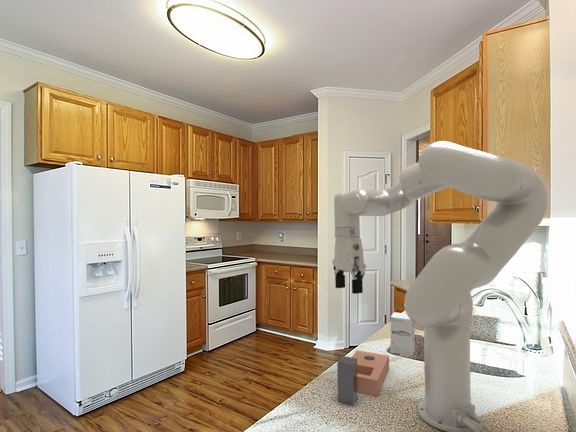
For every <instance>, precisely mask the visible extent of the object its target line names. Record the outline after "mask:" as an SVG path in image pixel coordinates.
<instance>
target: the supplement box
mask: <svg viewBox="0 0 576 432" xmlns="http://www.w3.org/2000/svg"><path fill="white" fill-rule="evenodd" d="M415 325H416V324H415V323H414V322H413V321H411V319H410V318H409V317H408V315H407V313H406V312H405V313H403V312H396V311H393V313H392V314H391V315H390V353H391V354H398V355H402V356H407V357H411V358H412V357H413V355H414V353H415V350H416V347H415V346H416V345H415V343H416V340H415V339H416V337H415V336H416V335H415V334H416V333H415V331H416V329H415V328H416V326H415Z"/></svg>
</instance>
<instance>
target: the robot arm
mask: <svg viewBox="0 0 576 432" xmlns="http://www.w3.org/2000/svg"><path fill="white" fill-rule="evenodd" d="M398 180H399V181H398V183H396V184H394V185H393V186H390V187H388V188H385V189H383V190H374V189H363V188H360V189H355V190H352V191H350V192H340V193H336V194H335V195H334V197H333V199H334V200H333V201H334V202H333V203H334V204H333V206H334V207H333V208H334V239H335V242H334V259H332V265H333V270H334V273H333V274H334V276H335V277H334V278H335V279H334V280H335V283H334V284H335V285H334V286H335V288H336V289H343V288H346V275H345V273H346V272H347V273H350V274H351V276H352V279H351V293H352V294H354V295H357V294H362V293H363V292H364V289H363V288H364V287H363V280H364V275H365V272H366V268H367V265H366V264H365V259H364V249H363V244H362V243H363V242H362V239H361V227H360V226H361V225H360V224H361V223H360V216H362V217H366V216H367V217H383V216H384V217H385V216H388V215H390V214H393V213H396V212H398V211H401V210H403V209H406V208H408V207H409V206H411V205H413V204H414V203H415V202H416V201H417V200H419V199H422V198H424V197H427V196H429V195H432V194H434V193H437V192H440V191H443V190H445V189H447V188H450V189H454V190H456V191H458V192H461V193H463V194H466V195H469V196H471V197H474V198H477V199H479V200H482V201H487V202H495V203H496V205H495V207H494V208H493V210H492V211H491V212H490V213H488V215H486V216H485V217H484V218H483V220H482V221H480V222H479V224H478V225H477V227H476V228H475V230H474V231H473V232H472V233H470V235H469V236H468V238H467V239H466V240H464V241H463V242H461V243H460V242H459V243H458V242H457V243H452V244H449V245H446V246H444V247H442V248H441V249H439V250H438V251H437V252H435V254H434V255H433V256H432V257H431V258H430V259H429V261H428V262H427V263H426V265H425V266H424V267H423V269H422V270H421V271H420V273H419V274H418V275H417V276H416V278H415V279H414V281H412V282H411V284H410V286H409V287H408V289H407V291H406V292H405V295H404V301H403V303H404V310H405V314H407V315H408V317H409V318H410V319H411V321H413V322H414V323H415V325H417V326H419V327H422V328H424V333H423V335H424V336H423V340H424V341H423V344H424V345H423V346H424V347H423V354H424V356H423V360H424V364H423V366H424V399H422V400H421V401H420V402H419V403H418V404H417V412H418V414H419V416H420V418H421V419H422V420H423V421H424V422H425V423H427V424H428V425H430V426H432V427H434V428H436V429H439V430H441V431H444V432H482V428H483V427H484V426H485V420H484V419H482V418H481V417H479V416H478V414H477V413H476V406H475V404H473V403H471V402H472V401H471V400H472V398H471V397H472V396H471V395H472V393H471V391H472V390H471V389H472V388H471V327H472V317H473V310H474V302H473V296H472V294H471V292H472V291H473V290H474V289H478V288H481V287H484V286H486V285H488V284H490V283H491V282H493V281H494V279H495V278H496V277H498V275H499V274H500V272H501V271H502V270H503V269H504V267H505V266H507V264H508V263H510V261H511V260H512V258H513V257H514V256H515V255H516V254H517V253H518V251H519V250H520V248H521V247H522V246H523V245H524V244H525V243H527V241H528V239H529V238H530V237H531V236H532V235H533V233H534V232H535V231H536V230H537V229H538V227H539V226H540V224H541V223H542V221H543V219H544V218H545V215H546V212H547V209H548V200H549V198H548V191H547V188H546V186H545V184H544V182H543V180H542V179H541V178H540V176H539V174H538V173H536V172H535V171H534V170H533V169H532V168H531V167H529V166H528V165H526V164H524V163H522V162H519V161H515V160H514V159H513V160H512V159H510V158H507V157H504V156H500V155H497V154H493V153H489V152H485V151H481V150H479V149H474V148H471V147H467V146H465V145H464V146H463V145H461V144H459V143H455V142H452V141H448V140H438V141H434V142H433V143H430V144H428V145H427V146H426V147H425V148H424V149H423V150H422V151H421V153H420V155H419V157H418V161H417V162H416V163H415V162H414V164H411V165H409V166H406V167H404V168H403V169H402V170H400V172H399V175H398Z"/></svg>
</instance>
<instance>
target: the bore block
mask: <svg viewBox="0 0 576 432" xmlns="http://www.w3.org/2000/svg"><path fill="white" fill-rule="evenodd" d="M351 357H352V358H357V390H358V393H361V394H366V395H371V396H375V397H379V394H380V391H381V389H382V387H383V384H384V381H385V379H386V377H387V375H388V372H389V370H390V356H389V355H387V354H383V353H382V354H380V353H375V352H369V351H363V350H356V351H354V353H353V354H352V356H351Z"/></svg>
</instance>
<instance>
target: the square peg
mask: <svg viewBox="0 0 576 432" xmlns="http://www.w3.org/2000/svg"><path fill="white" fill-rule="evenodd" d="M336 363H337V364H336V365H337V371H336V372H337V376H336V377H337V403H340V404H344V405H348V406H351V407H352V406H355V403H356V402H357V400H358V398H359V397H358V394H359V392H358V390H357V358H352V356H346V355H345V356H344V355H342V356H341V357H340V358H339V359H338V360H337V362H336Z"/></svg>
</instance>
